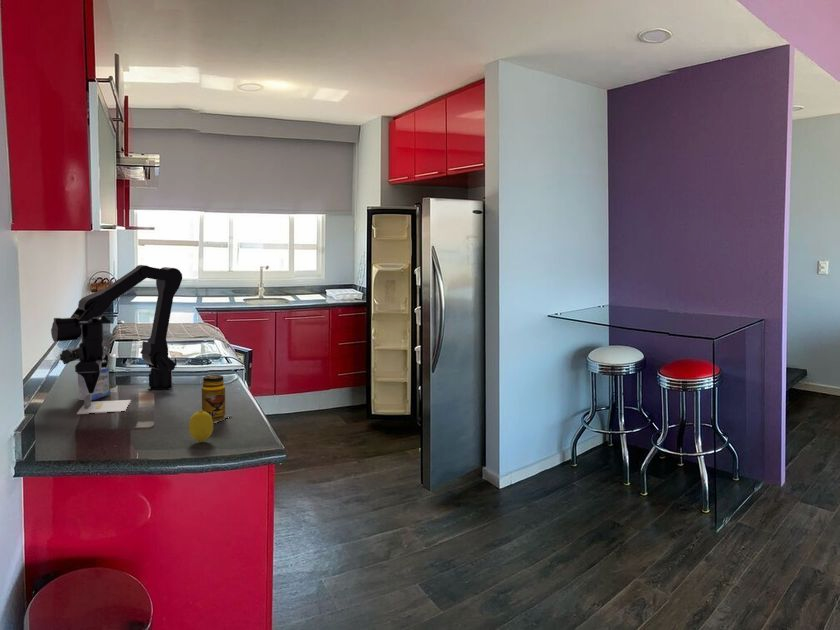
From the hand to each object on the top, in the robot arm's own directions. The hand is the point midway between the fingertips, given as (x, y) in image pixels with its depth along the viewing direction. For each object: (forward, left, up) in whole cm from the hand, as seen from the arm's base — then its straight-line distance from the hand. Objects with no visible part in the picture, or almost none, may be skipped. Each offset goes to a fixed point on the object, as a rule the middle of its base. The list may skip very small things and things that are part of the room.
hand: (94, 389), depth 182 cm
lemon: (-32, +50, -3) cm, 59 cm away
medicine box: (0, 0, -3) cm, 3 cm away
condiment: (-34, +30, -3) cm, 45 cm away
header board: (-5, +13, -2) cm, 14 cm away
